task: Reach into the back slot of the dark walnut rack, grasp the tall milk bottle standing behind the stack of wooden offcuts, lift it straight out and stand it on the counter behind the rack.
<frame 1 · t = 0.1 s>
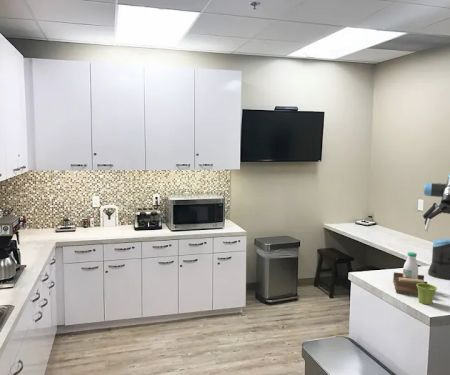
hand: (439, 232, 209), 35 cm above the countertop, tool tilted 35°, fingers open, 13 cm apart
plant pot: (425, 303, 207), on the countertop
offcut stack: (411, 293, 221), resting in walnut rack
milk bottle: (409, 287, 230), resting in walnut rack
walnut rack: (410, 289, 227), on the countertop
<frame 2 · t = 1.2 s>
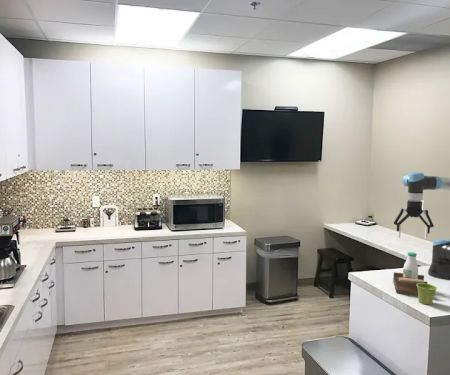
hand: (412, 238, 227), 28 cm above the countertop, tool pointing down, fingers open, 13 cm apart
nothing on the countertop moved.
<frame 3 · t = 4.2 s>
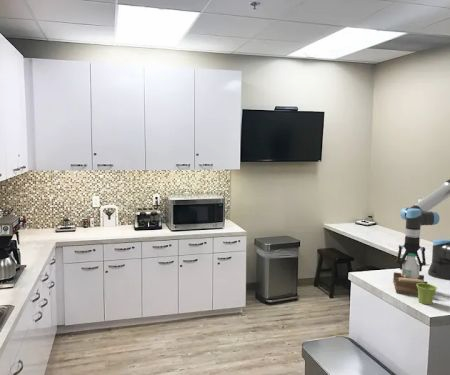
hand: (410, 276, 229), 7 cm above the countertop, tool pointing down, fingers closed on milk bottle, 7 cm apart
milk bottle: (409, 287, 230), resting in walnut rack, touching gripper
everything else where it was.
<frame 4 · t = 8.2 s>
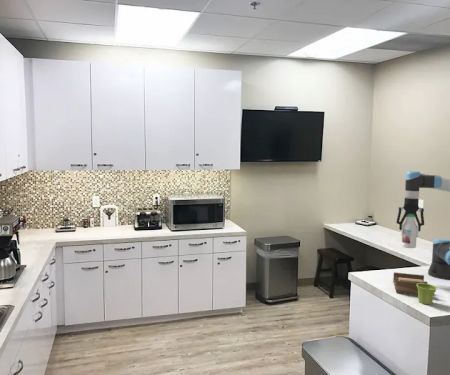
hand: (409, 236, 240), 27 cm above the countertop, tool pointing down, fingers closed on milk bottle, 7 cm apart
milk bottle: (408, 247, 241), point 20 cm above the countertop, touching gripper
everything else where it was.
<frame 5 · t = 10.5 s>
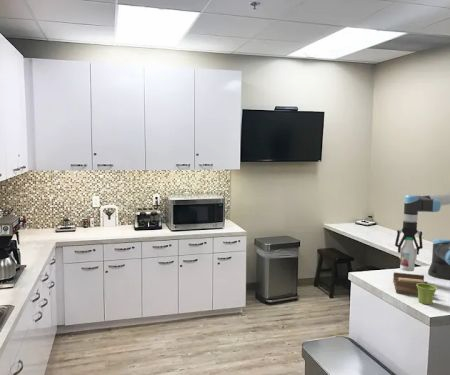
hand: (407, 259, 242), 13 cm above the countertop, tool pointing down, fingers closed on milk bottle, 7 cm apart
milk bottle: (407, 270, 242), point 6 cm above the countertop, touching gripper
everything else where it was.
when the fingers open (8 cm above the countertop, at t = 12.4 s): milk bottle drops 2 cm, on the countertop.
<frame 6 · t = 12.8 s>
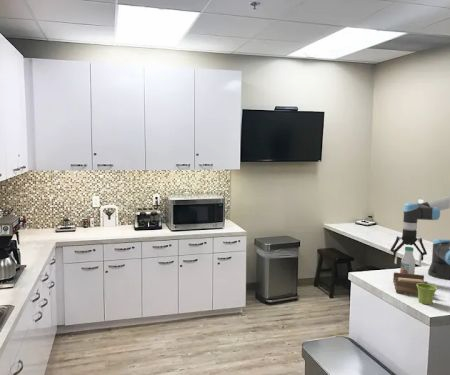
hand: (407, 264, 242), 10 cm above the countertop, tool pointing down, fingers open, 12 cm apart
milk bottle: (406, 280, 243), on the countertop
everything else where it was.
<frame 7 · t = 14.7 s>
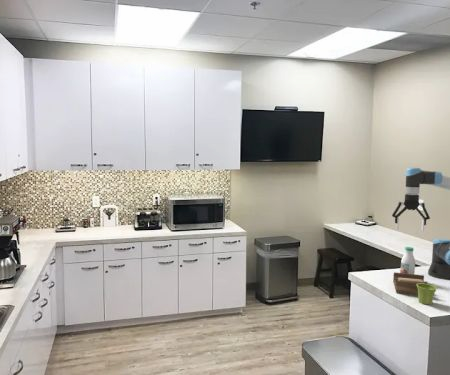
hand: (409, 229, 240), 31 cm above the countertop, tool pointing down, fingers open, 13 cm apart
nothing on the countertop moved.
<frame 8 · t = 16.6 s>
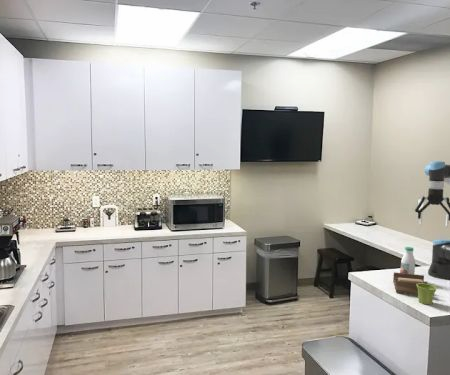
hand: (433, 225, 233), 35 cm above the countertop, tool pointing down, fingers open, 13 cm apart
nothing on the countertop moved.
at the end: milk bottle inside the target area (0.0 cm from its centre), on the countertop; milk bottle tilted 0°; the gripper is holding nothing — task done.
